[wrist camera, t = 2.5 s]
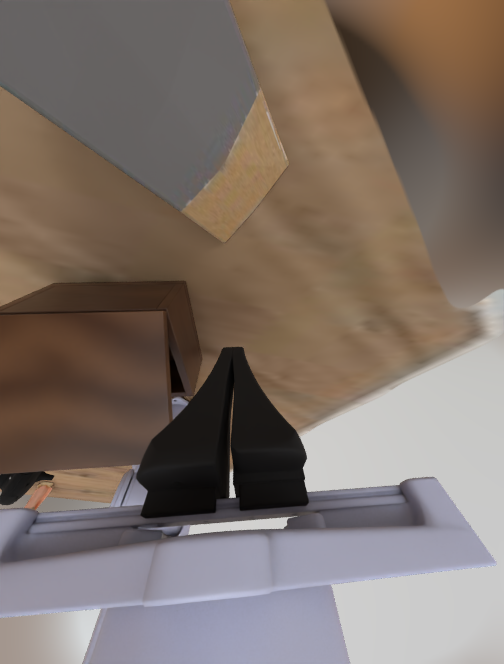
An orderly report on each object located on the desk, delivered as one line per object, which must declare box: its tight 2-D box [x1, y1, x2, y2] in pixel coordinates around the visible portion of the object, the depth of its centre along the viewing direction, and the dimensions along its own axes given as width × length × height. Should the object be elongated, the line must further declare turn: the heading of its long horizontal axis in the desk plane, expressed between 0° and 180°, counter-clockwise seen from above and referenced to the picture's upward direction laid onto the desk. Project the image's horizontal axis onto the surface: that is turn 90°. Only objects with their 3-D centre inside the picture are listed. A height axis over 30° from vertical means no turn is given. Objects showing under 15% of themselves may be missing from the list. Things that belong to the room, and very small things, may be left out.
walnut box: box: [0, 281, 202, 397], centre depth 20 cm, size 12×14×6 cm
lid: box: [0, 311, 173, 474], centre depth 14 cm, size 12×14×1 cm
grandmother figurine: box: [24, 482, 54, 510], centre depth 45 cm, size 8×4×13 cm, turn 136°
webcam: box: [0, 471, 54, 505], centre depth 32 cm, size 8×8×10 cm
